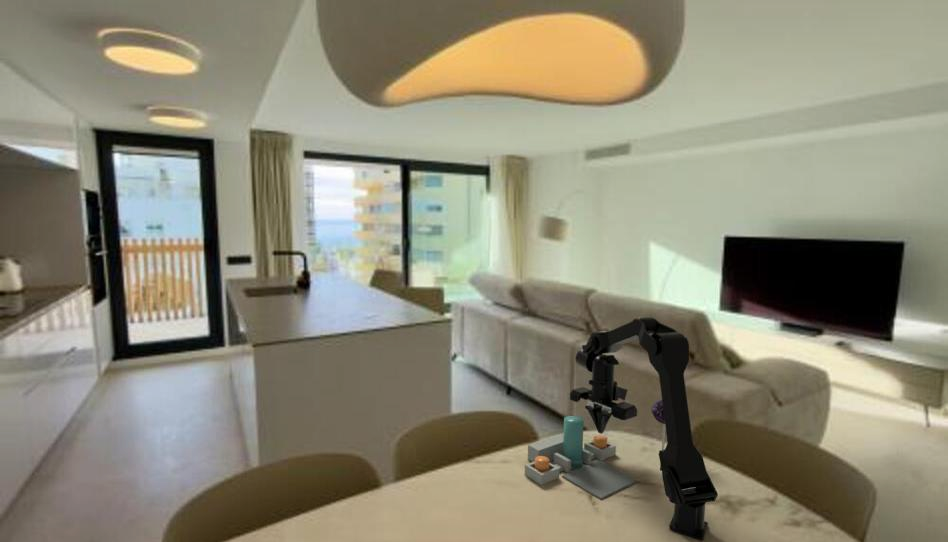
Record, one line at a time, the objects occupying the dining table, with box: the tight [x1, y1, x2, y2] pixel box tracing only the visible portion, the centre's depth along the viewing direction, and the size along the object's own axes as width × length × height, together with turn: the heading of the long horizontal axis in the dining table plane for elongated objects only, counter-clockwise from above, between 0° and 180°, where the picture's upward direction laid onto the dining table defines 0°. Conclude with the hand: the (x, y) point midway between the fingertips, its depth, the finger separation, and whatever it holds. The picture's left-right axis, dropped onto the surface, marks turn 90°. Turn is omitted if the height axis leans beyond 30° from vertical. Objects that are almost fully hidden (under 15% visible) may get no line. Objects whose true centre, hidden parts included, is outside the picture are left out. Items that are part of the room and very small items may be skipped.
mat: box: [561, 459, 639, 500], centre depth 115 cm, size 12×14×1 cm
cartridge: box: [562, 415, 585, 470], centre depth 122 cm, size 5×5×12 cm
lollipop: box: [651, 399, 666, 450], centre depth 129 cm, size 7×7×15 cm
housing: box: [524, 432, 617, 486], centre depth 124 cm, size 12×28×4 cm, turn 126°
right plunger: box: [593, 434, 608, 449], centre depth 128 cm, size 4×4×3 cm
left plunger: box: [535, 456, 551, 473], centre depth 116 cm, size 4×4×3 cm
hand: (600, 432), depth 128 cm, fingers closed
